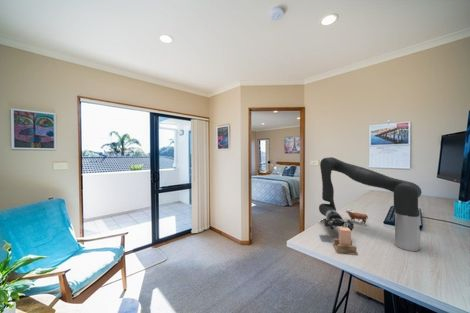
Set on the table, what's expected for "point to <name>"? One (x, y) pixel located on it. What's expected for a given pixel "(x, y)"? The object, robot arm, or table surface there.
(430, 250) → the table surface
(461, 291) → the table surface
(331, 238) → the rubber mat
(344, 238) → the tall salmon pink block
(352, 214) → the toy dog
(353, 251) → the slotted rack
